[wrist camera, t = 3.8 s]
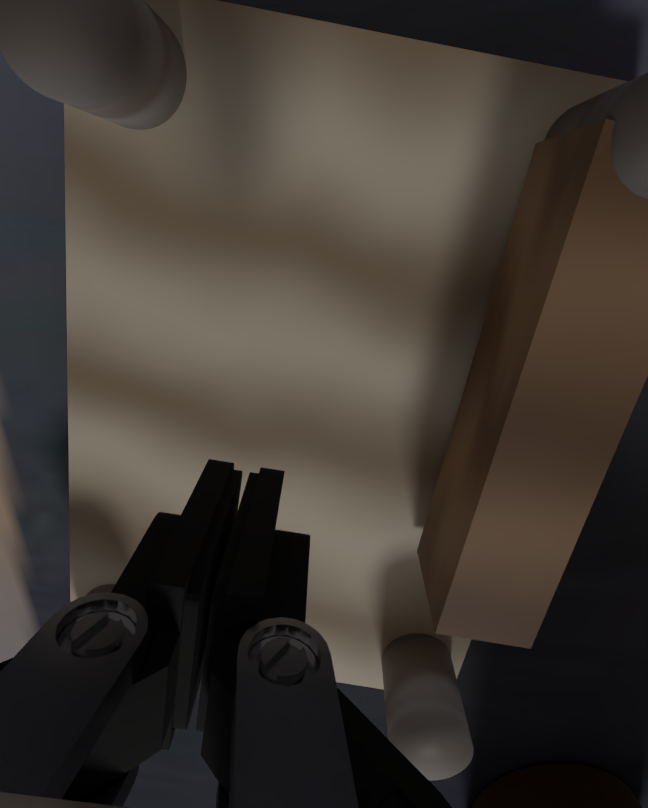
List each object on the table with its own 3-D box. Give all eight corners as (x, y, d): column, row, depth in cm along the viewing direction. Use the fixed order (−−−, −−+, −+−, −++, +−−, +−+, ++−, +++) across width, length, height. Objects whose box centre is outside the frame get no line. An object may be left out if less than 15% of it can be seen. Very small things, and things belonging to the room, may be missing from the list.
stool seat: (96, -2, 15) (-45, -123, 10) (634, 104, 16) (793, 46, 10) (92, 606, 24) (16, 727, 18) (440, 662, 24) (470, 796, 19)
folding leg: (551, 90, 14) (630, 44, 10) (658, 111, 14) (776, 74, 10) (416, 550, 19) (435, 633, 15) (494, 563, 19) (530, 648, 15)
